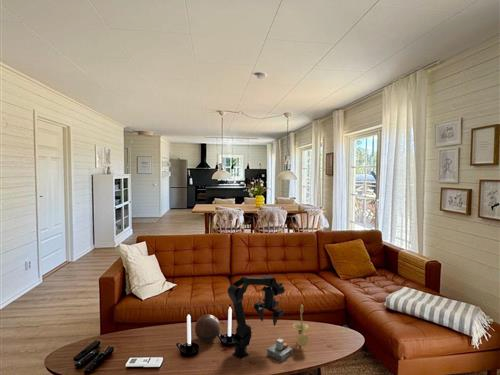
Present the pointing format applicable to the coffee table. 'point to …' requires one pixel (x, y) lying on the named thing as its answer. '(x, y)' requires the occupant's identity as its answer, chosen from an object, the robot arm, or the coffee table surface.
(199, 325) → the wooden sphere
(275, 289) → the robot arm
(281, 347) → the wedge pin
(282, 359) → the rosette plate
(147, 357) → the coffee table surface
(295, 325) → the wall sconce
